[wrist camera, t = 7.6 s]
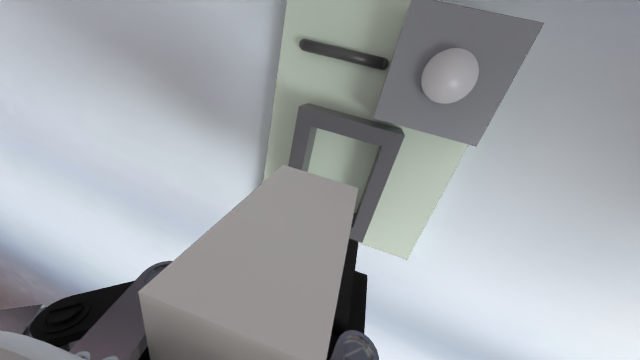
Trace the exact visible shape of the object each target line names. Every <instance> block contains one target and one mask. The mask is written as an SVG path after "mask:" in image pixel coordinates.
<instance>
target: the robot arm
mask: <svg viewBox="0 0 640 360" xmlns="http://www.w3.org/2000/svg"><path fill="white" fill-rule="evenodd" d="M357 249H358V241H356V240H353V239H350V238H349V241H348V246H347V252H346V257H345V262H344V268H343V273H342V278H341V284H340V289H339V294H338V300H337V305H336V310H335V316H334V321H333V327H332V332H331V337H330V343H329V348H328V353H327V359H326V360H379V357H378V352H377V350H376V348H375V346H374V344H373V342H372V341H371V340H370V339H369V338H368V337H367V336H366V335H364V328H365V310H366V292H367V275H365V274H362V273H360V272H357V271H355V265H356V257H357ZM172 262H173V261H165V262H160V263H157V264H155V265H153V266H151V267H149V268H148V269H146V270H145V271H144V272H143V273H142V274H141V275H140V276H139V277H138V278H137V279H136V280H135V281H132V282H128V283H123V284H119V285H115V286H111V287H107V288H102V289H98V290H94V291H90V292H86V293H81V294H77V295H73V296H70V297H67V298H63V299H61V300H59V301H57V302H55V303H53V304H51V305H50V306H48V307H44V305H43V304H40V305H32V306H24V307H16V308H8V309H0V360H150V355H149V349H148V344H147V338H146V333H145V327H144V321H143V316H142V310H141V304H140V299H139V293H138V292H139V291H140V290H141V289H142V288H143V287H144V286H145V285H147V284H148V283H149V282H150V281H151V280H152V279H153V278H155V277H156V276H157V275H158V274H159V273H160V272H161V271H163V270H164V269H165V268H166V267H167V266H168V265H169V264H171V263H172Z"/></svg>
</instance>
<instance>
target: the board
mask: <svg viewBox="0 0 640 360" xmlns="http://www.w3.org/2000/svg"><path fill="white" fill-rule="evenodd" d="M543 24H544V23H542V22H537V21H532V20H527V19H522V18H517V17H513V16H508V15H503V14H498V13H493V12H488V11H483V10H478V9H473V8H468V7H464V6H459V5H454V4H449V3H444V2H439V1H434V0H287V4H286V12H285V19H284V27H283V34H282V42H281V50H280V57H279V65H278V72H277V80H276V88H275V95H274V103H273V110H272V118H271V126H270V133H269V141H268V149H267V156H266V164H265V171H264V179H263V182H264V181H265V180H266V179H268V178H269V177H270V176H271V175H272V174H273V173H274V172H276V171H277V170H278V169H279V168H280V167H281V166H282V165H286V166H289V167H292V168H295V169H299V170H302V171H305V172H308V173H312V174H315V175H318V176H321V177H324V178H328V179H331V180H334V181H337V182H341V183H344V184H347V185H350V186H353V187H357V188H358V193H357V198H356V203H355V209H354V214H353V219H352V225H351V230H350V236H349V238H350V239H353V240H356V241H358V243H360V244H363V245H366V246H369V247H371V248H374V249H377V250H380V251H383V252H386V253H389V254H392V255H395V256H398V257H400V258H403V259H406V260H407V259H408V257H409V255H410V254H411V252H412V250H413V248H414V246H415V244H416V242H417V240H418V239H419V237H420V235H421V233H422V231H423V229H424V227H425V225H426V223H427V222H428V220H429V218H430V216H431V214H432V212H433V210H434V208H435V207H436V205H437V203H438V201H439V199H440V197H441V195H442V193H443V192H444V190H445V188H446V186H447V184H448V182H449V180H450V178H451V176H452V175H453V173H454V171H455V169H456V167H457V165H458V163H459V161H460V160H461V158H462V156H463V154H464V152H465V150H466V148H467V146H468V145H472V146H477V144H478V143H479V141H480V139H481V137H482V135H483V134H484V132H485V130H486V128H487V126H488V124H489V123H490V121H491V119H492V117H493V115H494V114H495V112H496V110H497V108H498V106H499V104H500V103H501V101H502V99H503V97H504V95H505V94H506V92H507V90H508V88H509V86H510V84H511V83H512V81H513V79H514V77H515V75H516V74H517V72H518V70H519V68H520V66H521V64H522V63H523V61H524V59H525V57H526V55H527V54H528V52H529V50H530V48H531V46H532V44H533V43H534V41H535V39H536V37H537V35H538V34H539V32H540V30H541V28H542V26H543Z"/></svg>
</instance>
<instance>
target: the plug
mask: <svg viewBox="0 0 640 360" xmlns="http://www.w3.org/2000/svg"><path fill="white" fill-rule="evenodd" d="M357 193H358V188H357V187H353V186H350V185H347V184H344V183H341V182H337V181H334V180H331V179H328V178H324V177H321V176H318V175H315V174H312V173H308V172H305V171H302V170H299V169H295V168H292V167H289V166H286V165H282V166H281V167H280V168H279V169H278V170H277V171H276V172H274V173H273V174H272V175H271V176H270V177H269V178H268V179H266V180H265V181H264V182H263V183H262V184H261V185H260V186H258V187H257V188H256V189H255V190H254V191H253V192H252V193H250V194H249V195H248V196H247V197H246V198H245V199H244V200H242V201H241V202H240V203H239V204H238V205H237V206H236V207H234V208H233V209H232V210H231V211H230V212H229V213H228V214H226V215H225V216H224V217H223V218H222V219H221V220H220V221H218V222H217V223H216V224H215V225H214V226H213V227H212V228H210V229H209V230H208V231H207V232H206V233H205V234H204V235H202V236H201V237H200V238H199V239H198V240H197V241H196V242H195V243H193V244H192V245H191V246H190V247H189V248H188V249H187V250H185V251H184V252H183V253H182V254H181V255H180V256H179V257H177V258H176V259H175V260H174V261H173V262H172V263H171V264H169V265H168V266H167V267H166V268H165V269H164V270H163V271H161V272H160V273H159V274H158V275H157V276H156V277H155V278H153V279H152V280H151V281H150V282H149V283H148V284H147V285H145V286H144V287H143V288H142V289H141V290H140V291H139V292H138V293H139V299H140V304H141V310H142V316H143V321H144V327H145V333H146V338H147V344H148V349H149V355H150V360H326V359H327V353H328V348H329V343H330V337H331V332H332V327H333V321H334V316H335V310H336V305H337V300H338V294H339V289H340V284H341V278H342V273H343V268H344V262H345V257H346V252H347V246H348V241H349V236H350V230H351V225H352V219H353V214H354V209H355V203H356V198H357Z"/></svg>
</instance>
